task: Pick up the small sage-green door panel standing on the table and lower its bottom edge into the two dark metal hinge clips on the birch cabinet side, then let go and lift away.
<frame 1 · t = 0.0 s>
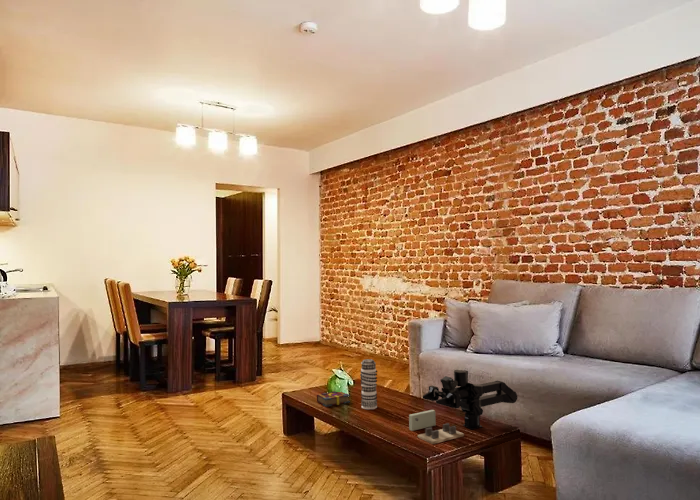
hand: (429, 399, 222), 17 cm above the table, tool horizontal, fingers open, 9 cm apart
tower model: (369, 407, 269), on the table
door panel: (422, 427, 235), on the table
decorative book: (334, 402, 279), on the table
hinge base: (440, 436, 223), on the table
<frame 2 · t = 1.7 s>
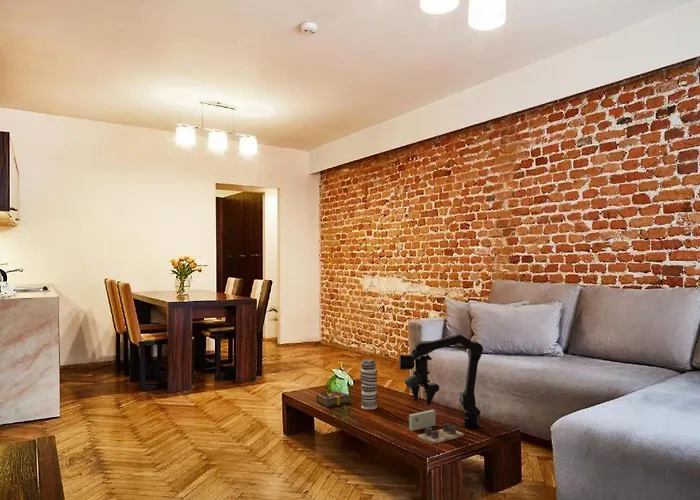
hand: (422, 402, 235), 11 cm above the table, tool pointing down, fingers open, 9 cm apart
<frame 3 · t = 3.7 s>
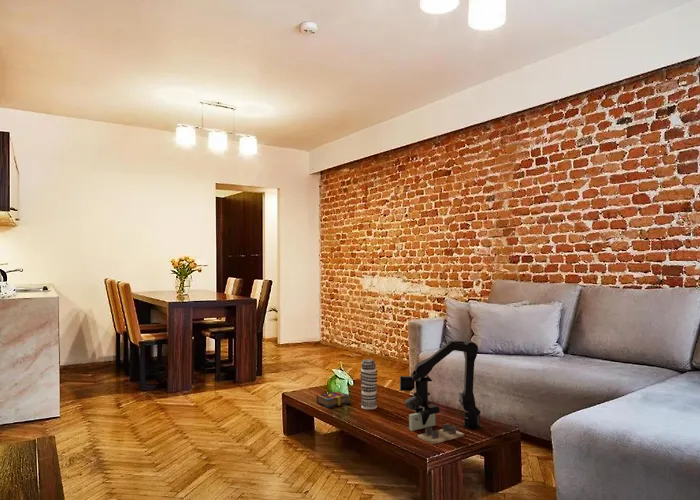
hand: (422, 424, 235), 2 cm above the table, tool pointing down, fingers closed on door panel, 2 cm apart
door panel: (422, 427, 235), on the table, touching gripper
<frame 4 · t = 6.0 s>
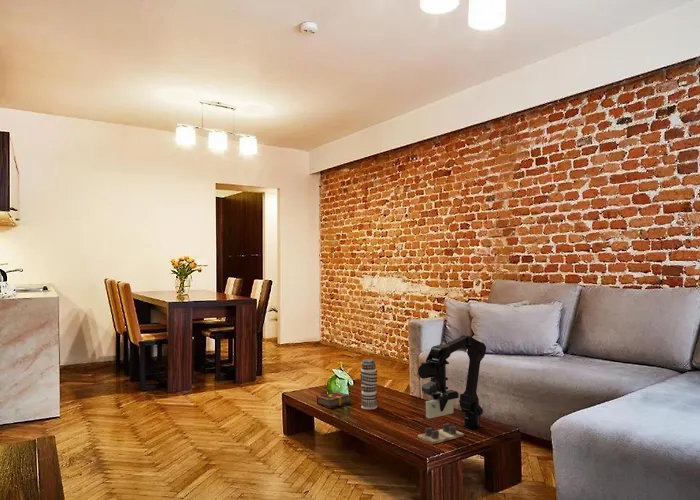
hand: (440, 410, 223), 11 cm above the table, tool pointing down, fingers closed on door panel
door panel: (439, 415, 223), point 9 cm above the table, touching gripper
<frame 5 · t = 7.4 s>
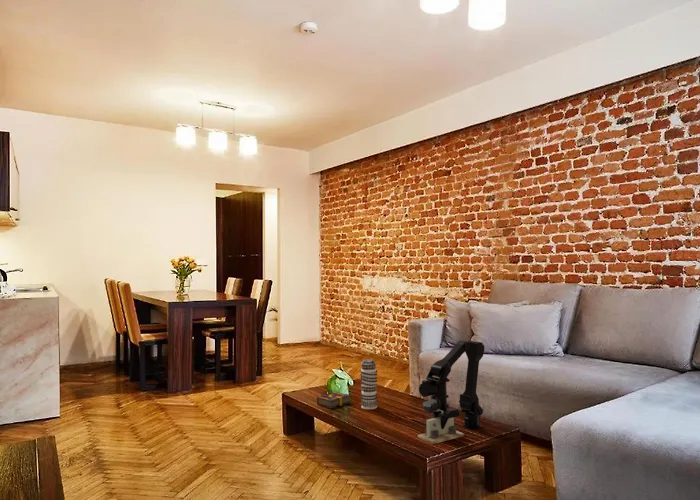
hand: (440, 428, 223), 4 cm above the table, tool pointing down, fingers closed on door panel, 2 cm apart
door panel: (440, 433, 223), point 1 cm above the table, touching gripper
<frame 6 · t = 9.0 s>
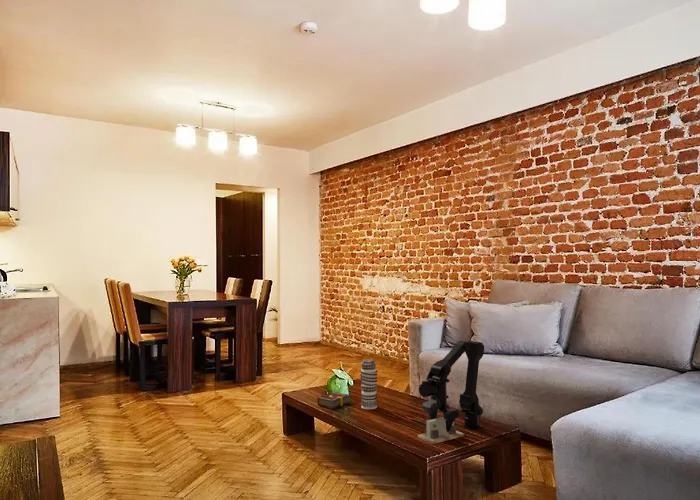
hand: (440, 428, 223), 3 cm above the table, tool pointing down, fingers open, 9 cm apart
door panel: (440, 434, 223), point 1 cm above the table, touching hinge base
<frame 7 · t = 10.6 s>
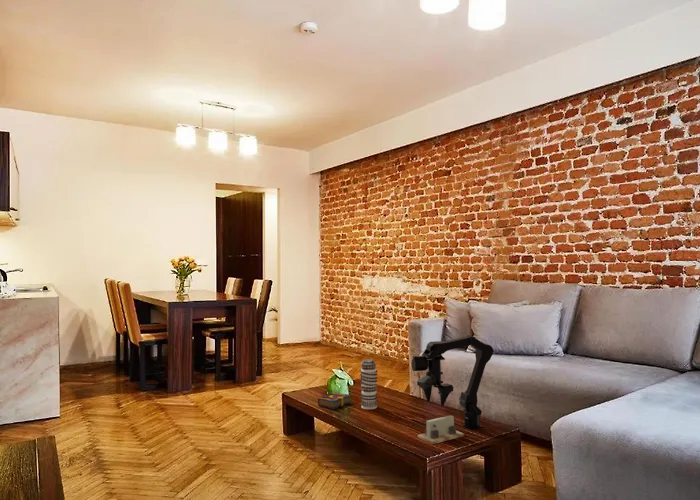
hand: (435, 403, 232), 12 cm above the table, tool pointing down, fingers open, 9 cm apart
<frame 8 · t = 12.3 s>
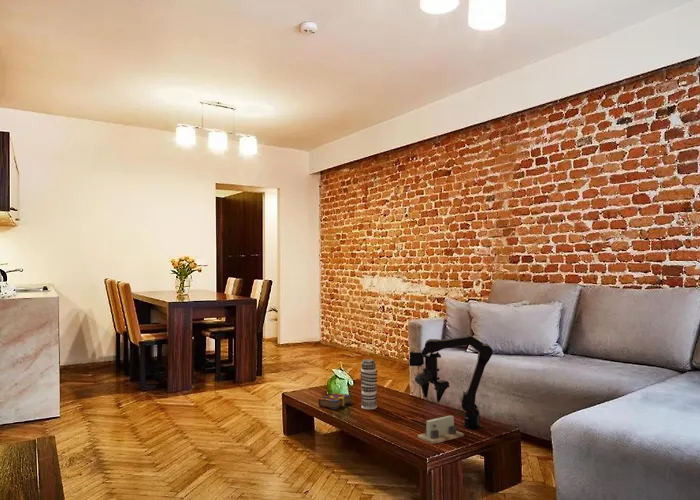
hand: (432, 399, 238), 12 cm above the table, tool pointing down, fingers open, 9 cm apart
at the end: door panel 0.2 cm off-centre on the hinge base, point 1.0 cm above the hinge base's base; door panel tilted 0°; the gripper is holding nothing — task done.
